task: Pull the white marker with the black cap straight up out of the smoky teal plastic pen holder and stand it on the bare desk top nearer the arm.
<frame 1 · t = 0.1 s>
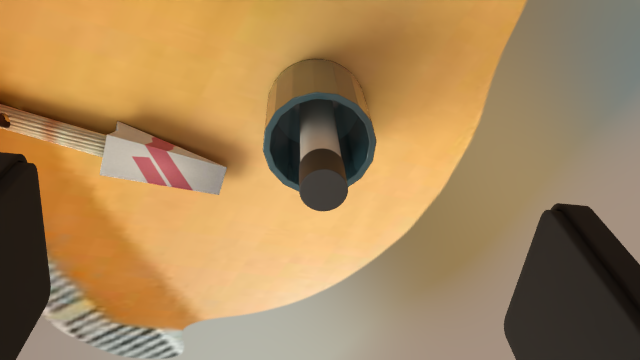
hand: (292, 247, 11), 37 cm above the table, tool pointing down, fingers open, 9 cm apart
pen holder: (316, 105, 49), on the table
paintbrush: (110, 139, 50), on the table
marker: (316, 107, 48), resting on pen holder
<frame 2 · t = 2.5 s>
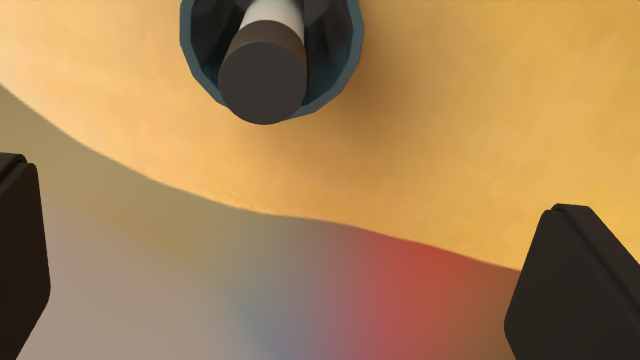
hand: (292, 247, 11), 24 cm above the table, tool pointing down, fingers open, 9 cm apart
marker: (278, 0, 32), resting on pen holder
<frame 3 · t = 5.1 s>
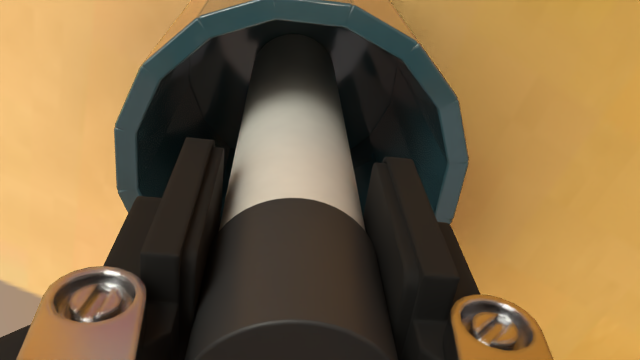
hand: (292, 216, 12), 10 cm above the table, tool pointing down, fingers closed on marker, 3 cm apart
pen holder: (293, 69, 20), on the table
marker: (293, 74, 20), resting on pen holder, touching gripper
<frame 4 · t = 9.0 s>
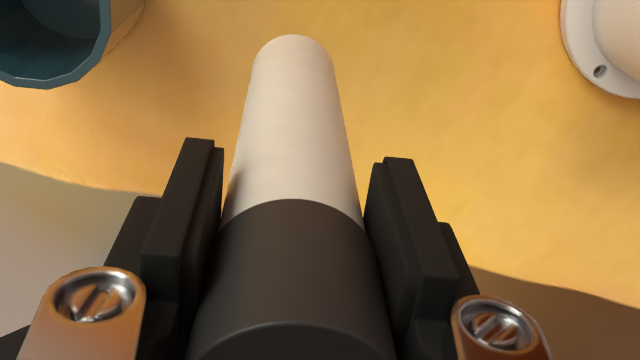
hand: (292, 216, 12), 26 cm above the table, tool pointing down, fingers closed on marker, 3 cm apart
marker: (293, 74, 20), point 17 cm above the table, touching gripper
when the fingers open (9 cm above the table, at t = 12.9 s): marker stays where it is, on the table.
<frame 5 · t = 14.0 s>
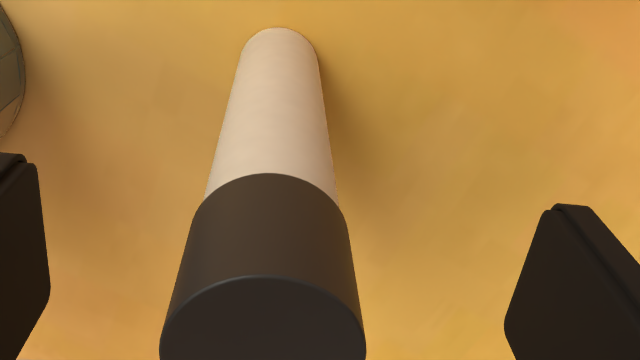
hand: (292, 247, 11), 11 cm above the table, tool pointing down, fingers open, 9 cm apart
marker: (278, 66, 21), on the table
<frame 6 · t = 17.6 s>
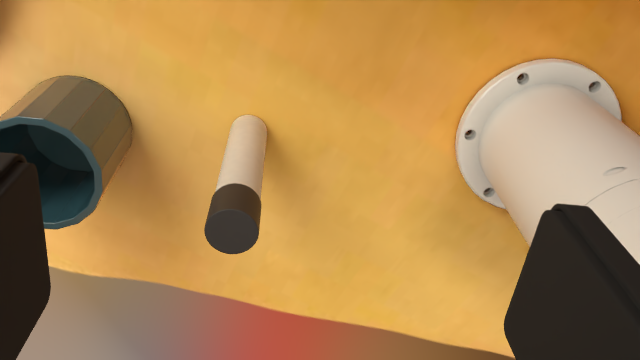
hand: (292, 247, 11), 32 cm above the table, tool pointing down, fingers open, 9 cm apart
pen holder: (78, 126, 44), on the table
marker: (248, 131, 45), on the table
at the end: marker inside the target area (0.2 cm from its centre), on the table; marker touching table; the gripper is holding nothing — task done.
